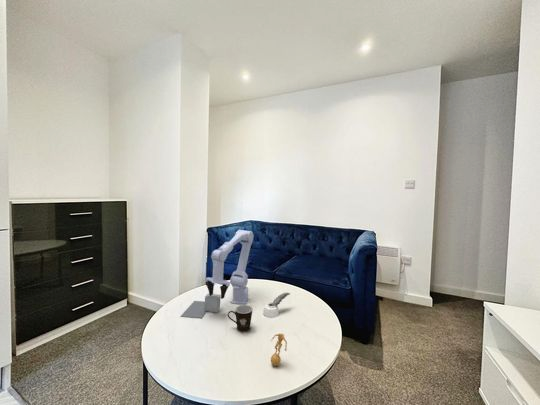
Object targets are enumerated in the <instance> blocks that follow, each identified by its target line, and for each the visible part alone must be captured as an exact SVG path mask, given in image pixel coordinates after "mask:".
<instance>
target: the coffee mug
mask: <svg viewBox="0 0 540 405" xmlns="http://www.w3.org/2000/svg"><path fill="white" fill-rule="evenodd" d="M234 309H235V310H230V311H228V313H227V317H228V319H229V320H230V321H232V322H234V323H235V325H236V330H237V331H238V332H240V333H246V332H248V331H250V330H251V324H252V315H253V307H252V306H251V305H248V304H241V305H240V304H239V305H237V306H236V307H235V308H234ZM231 313H233V314H234V316H235V320H234V318H231V316H230V314H231Z"/></svg>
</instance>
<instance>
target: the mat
mask: <svg viewBox="0 0 540 405" xmlns="http://www.w3.org/2000/svg"><path fill="white" fill-rule="evenodd" d="M204 308H205V300H203V301H201V300H193V302H192V303H190V305H189V306H188V307H187V308H186V309H185V310H184V311H183V312H182V314H181V315H180V317H181V318H191V319H203V318H204V316H205V315H206V314H207V312H208V311H204Z"/></svg>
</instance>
